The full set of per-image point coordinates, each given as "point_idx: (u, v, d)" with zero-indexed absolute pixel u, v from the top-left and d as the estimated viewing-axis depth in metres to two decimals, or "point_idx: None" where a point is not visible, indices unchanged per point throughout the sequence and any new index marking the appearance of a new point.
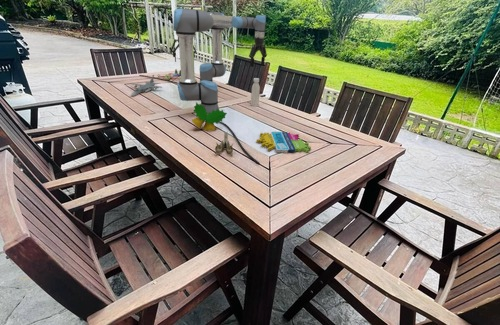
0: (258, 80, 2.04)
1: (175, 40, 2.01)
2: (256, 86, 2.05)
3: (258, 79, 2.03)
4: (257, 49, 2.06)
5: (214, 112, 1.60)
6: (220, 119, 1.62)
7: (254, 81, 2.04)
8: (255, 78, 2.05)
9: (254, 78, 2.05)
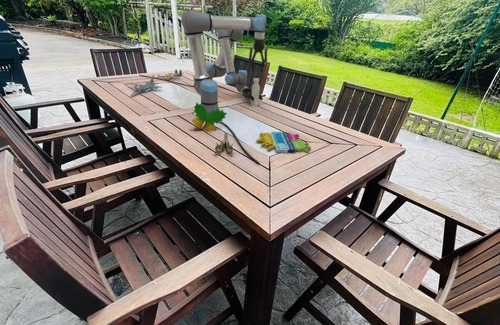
0: (258, 80, 2.04)
1: None
2: (256, 86, 2.05)
3: (258, 79, 2.03)
4: None
5: (214, 112, 1.60)
6: (220, 119, 1.62)
7: (254, 81, 2.04)
8: (255, 78, 2.05)
9: (254, 78, 2.05)
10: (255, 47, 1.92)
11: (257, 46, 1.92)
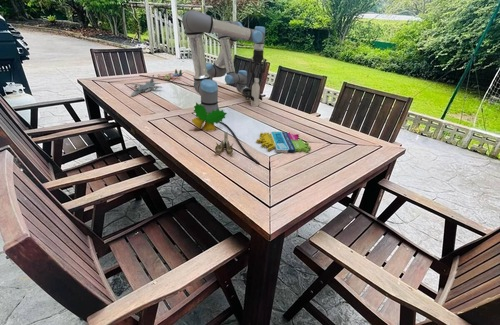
0: (258, 80, 2.04)
1: None
2: (256, 86, 2.05)
3: (258, 79, 2.03)
4: None
5: (214, 112, 1.60)
6: (220, 119, 1.62)
7: (254, 81, 2.04)
8: (255, 78, 2.05)
9: (254, 78, 2.05)
10: (254, 58, 1.95)
11: (256, 57, 1.95)
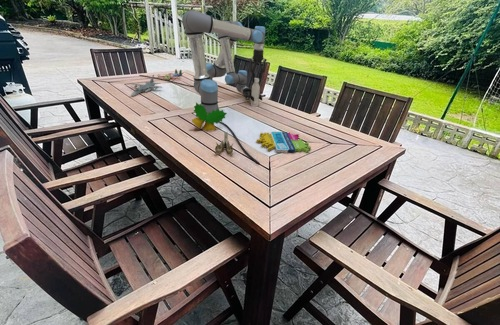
0: None
1: (264, 59, 2.00)
2: (256, 86, 2.05)
3: (257, 78, 2.06)
4: None
5: (214, 112, 1.60)
6: (220, 119, 1.62)
7: (258, 81, 2.04)
8: (256, 78, 2.04)
9: (256, 78, 2.03)
10: (254, 58, 1.95)
11: (256, 57, 1.95)
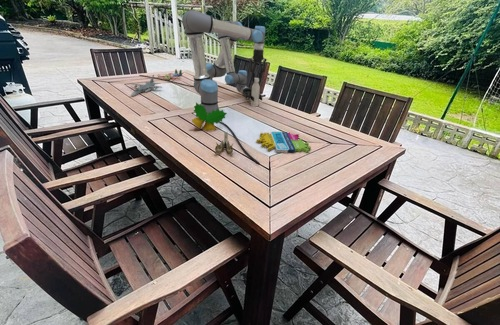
0: None
1: None
2: (256, 86, 2.05)
3: None
4: None
5: (214, 112, 1.60)
6: (220, 119, 1.62)
7: None
8: (257, 78, 2.04)
9: (258, 78, 2.05)
10: (254, 57, 1.95)
11: (256, 56, 1.95)
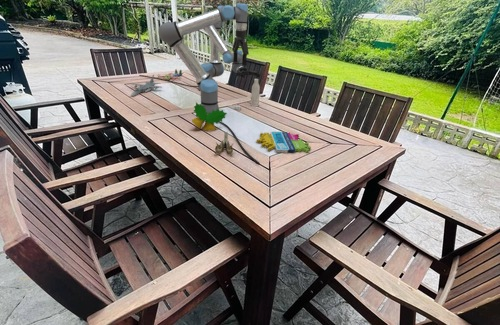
0: None
1: (235, 38, 1.82)
2: (256, 86, 2.05)
3: (237, 105, 2.03)
4: (249, 74, 2.24)
5: (214, 112, 1.60)
6: (220, 119, 1.62)
7: (240, 108, 2.03)
8: (238, 106, 2.01)
9: (239, 106, 2.01)
10: None
11: None
